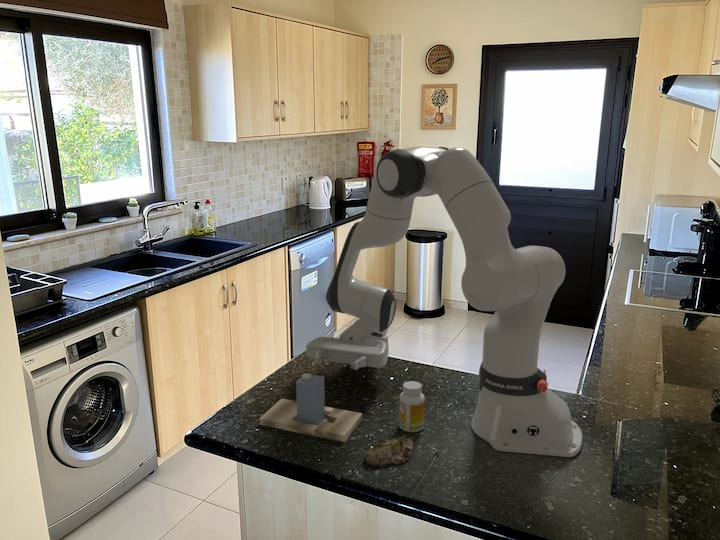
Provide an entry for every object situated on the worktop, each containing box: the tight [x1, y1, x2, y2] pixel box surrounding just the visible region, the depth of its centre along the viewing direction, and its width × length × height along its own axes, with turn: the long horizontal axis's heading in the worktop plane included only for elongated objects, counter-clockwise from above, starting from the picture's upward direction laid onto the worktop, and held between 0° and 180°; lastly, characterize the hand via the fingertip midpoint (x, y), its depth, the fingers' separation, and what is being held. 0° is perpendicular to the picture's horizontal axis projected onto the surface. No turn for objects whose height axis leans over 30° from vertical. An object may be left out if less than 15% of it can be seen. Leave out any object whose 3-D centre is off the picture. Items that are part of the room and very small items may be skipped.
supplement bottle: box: [398, 380, 426, 433], centre depth 124 cm, size 5×5×10 cm
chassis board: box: [258, 398, 363, 443], centre depth 127 cm, size 20×10×2 cm, turn 69°
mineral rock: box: [364, 436, 414, 467], centre depth 114 cm, size 11×4×8 cm
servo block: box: [295, 372, 326, 426], centre depth 126 cm, size 4×4×11 cm
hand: (334, 364), depth 136 cm, fingers open, 8 cm apart
